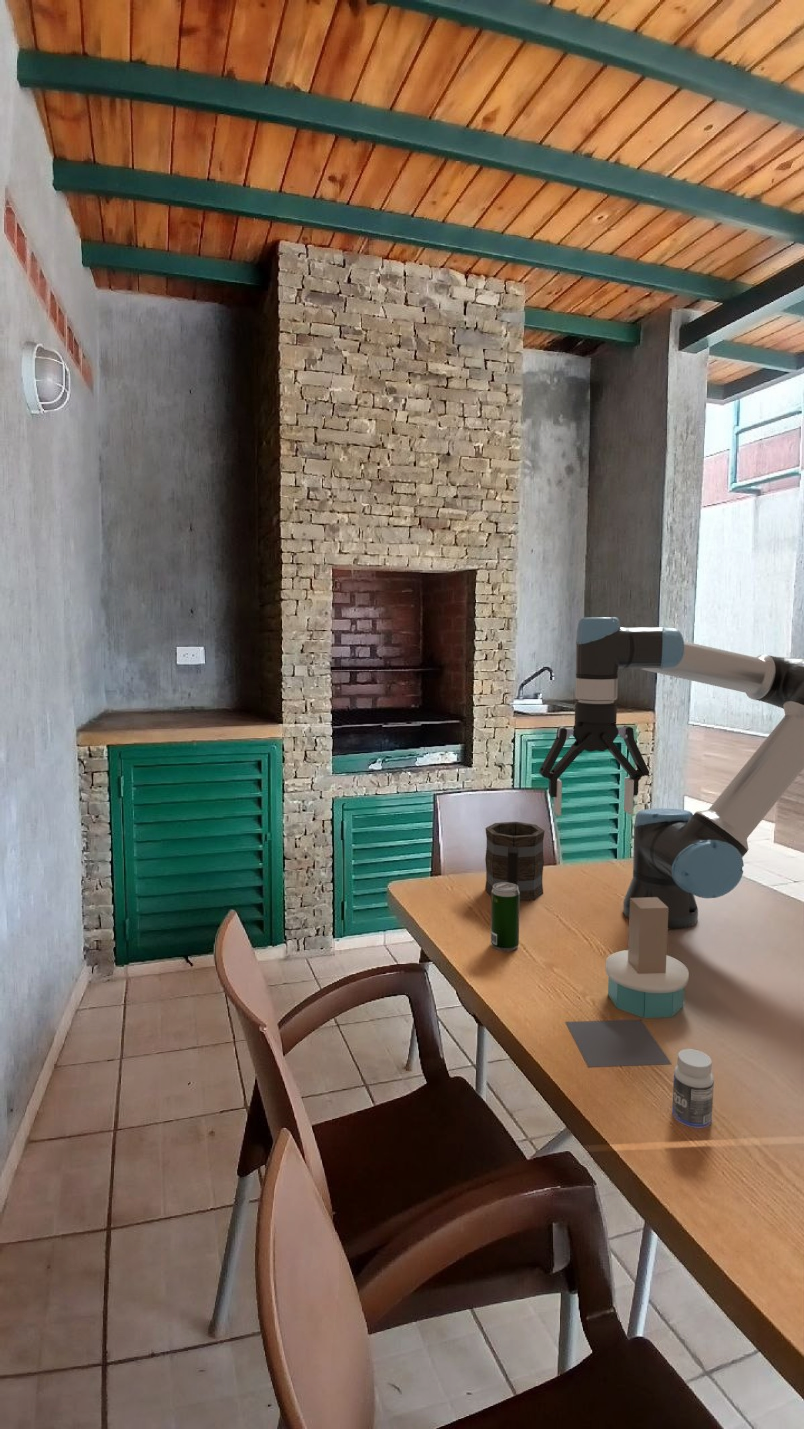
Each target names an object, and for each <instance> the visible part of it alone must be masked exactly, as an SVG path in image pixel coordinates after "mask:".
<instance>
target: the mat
mask: <svg viewBox="0 0 804 1429" xmlns="http://www.w3.org/2000/svg"><path fill="white" fill-rule="evenodd" d="M565 1025H566V1026H567V1028H568V1031H569V1032H570V1035H571V1036H572V1038H573V1040H574V1042H575V1044H576V1046H577V1048H578V1050H579V1052H580V1054H581V1056H582V1057H583V1059H584V1062H585V1063H586V1066H587V1068H604V1067H607V1068H608V1067H627V1066H628V1067H635V1066H636V1067H637V1066H660V1065H661V1066H662V1065H663V1066H665V1065H672V1064H673V1063H672V1062H671V1061H670V1059H669V1058H668V1056H667V1055H666V1054H665V1052H664V1050H663V1049H662V1048H661V1046H660V1045H659V1044H658V1042H657V1041H656V1039H655V1038H654V1036H653V1035H652V1033H651V1032H650V1030H649V1029H648V1028H647V1026H646V1025H645V1024H644V1022H643V1021H642V1019H637V1018H636V1019H612V1020H584V1021H583V1020H581V1021H579V1020H578V1021H565Z"/></svg>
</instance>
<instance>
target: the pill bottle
mask: <svg viewBox="0 0 804 1429" xmlns="http://www.w3.org/2000/svg"><path fill="white" fill-rule="evenodd" d="M677 1054H678V1055H677V1060H676V1061H677V1065H675V1068H674V1071H673V1084H672V1086H673V1089H672V1105H671V1106H672V1107H671V1110H672V1116H673V1117H674V1119H675V1120H677V1121H678V1122H679V1123H680V1124H683V1125H686V1126H688V1127H691V1128H696V1129H697V1128H699V1129H700V1128H706V1127H708V1126H709V1125H710V1124H711V1123H712V1119H713V1104H714V1102H713V1101H714V1100H713V1099H714V1087H715V1086H714V1085H715V1079H714V1078H715V1077H714V1074H713V1073H712V1064H713V1062H712V1059H711V1057H710V1056H709V1055H708V1054H706V1053H705V1052H703V1051H701V1050H698V1049H693V1048H684V1049H682V1050H680V1051H679V1052H678V1053H677Z"/></svg>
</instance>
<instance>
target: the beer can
mask: <svg viewBox="0 0 804 1429" xmlns="http://www.w3.org/2000/svg"><path fill="white" fill-rule="evenodd" d="M490 898H491V900H490V901H491V903H490V906H491V908H490V909H491V910H490V912H491V913H490V919H491V920H490V944H491V946H492V948H493V949H495V950H497V951H499V952H513V951H515V950H517V948H518V946H519V945H520V944H519V943H520V902H519V899H520V892H519V890H518V886H517V885H516V884H513V883H507V882H501V883H496V884H494V885H493V889H492V895H491V896H490Z"/></svg>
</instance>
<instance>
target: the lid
mask: <svg viewBox="0 0 804 1429" xmlns="http://www.w3.org/2000/svg"><path fill="white" fill-rule="evenodd" d="M628 920H629V921H628V943H627V944H628V947H627V949H626V950H620V951H616V952H614V953H611V954H610V955H609V956H608V957H607V958H606V959H605V974H606V975H607V976H608V979H609V978H611V979H612V980H613V981H614V982H616V983H618V984H620V985H622V986H624V987H627V988H629V989H633V990H637V991H641V992H648V993H670V992H675V991H678V990H681V989H683V988H684V989H685V987H686V986H687V985H688V984H689V976H690V975H689V974H690V973H689V969H688V967H686V965H685V964H684V963H682V962H681V961H680V960H678V959H676V958H674V957H672V956H670V955H668V954H667V951H668V933H669V932H668V931H669V930H668V907H667V906H666V905H665V904H664V903H663V902H662V901H661V900H660V899H659V898H657V897H647V898H630V912H629V918H628Z"/></svg>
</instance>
